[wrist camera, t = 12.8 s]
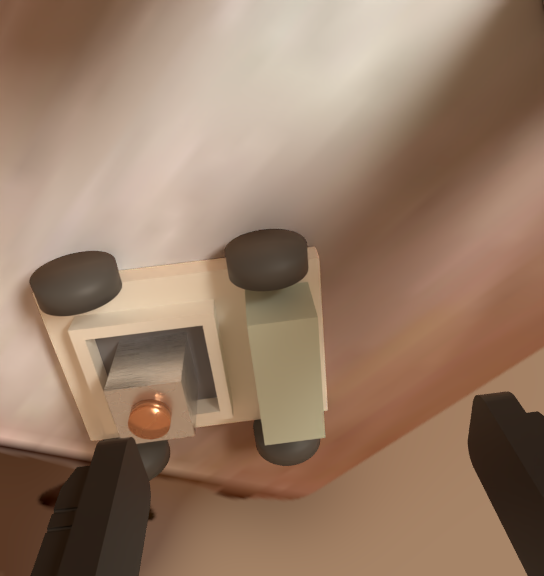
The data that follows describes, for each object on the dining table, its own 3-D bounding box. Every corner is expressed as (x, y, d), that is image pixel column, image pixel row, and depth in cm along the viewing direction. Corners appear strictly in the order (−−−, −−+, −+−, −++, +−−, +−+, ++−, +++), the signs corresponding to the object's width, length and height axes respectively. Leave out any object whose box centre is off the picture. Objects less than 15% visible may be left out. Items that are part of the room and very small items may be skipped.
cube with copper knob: (186, 332, 41) (179, 390, 35) (198, 383, 44) (194, 446, 38) (119, 341, 41) (100, 401, 35) (135, 392, 44) (120, 456, 37)
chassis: (313, 223, 39) (329, 265, 33) (325, 410, 49) (338, 468, 43) (31, 257, 39) (-4, 306, 33) (101, 439, 49) (84, 502, 43)
